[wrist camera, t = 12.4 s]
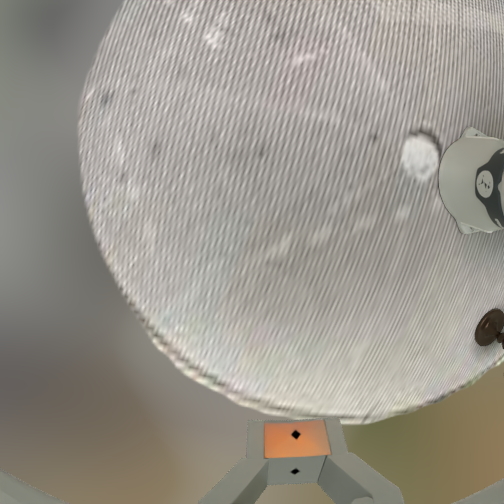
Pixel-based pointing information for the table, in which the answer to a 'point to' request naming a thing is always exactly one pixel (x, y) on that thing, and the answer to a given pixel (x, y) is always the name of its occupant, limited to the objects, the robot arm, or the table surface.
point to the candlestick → (490, 328)
